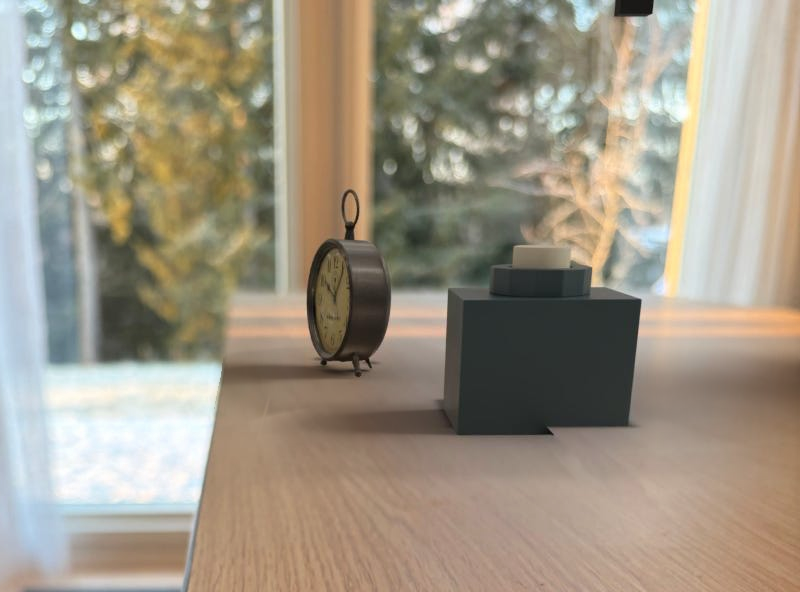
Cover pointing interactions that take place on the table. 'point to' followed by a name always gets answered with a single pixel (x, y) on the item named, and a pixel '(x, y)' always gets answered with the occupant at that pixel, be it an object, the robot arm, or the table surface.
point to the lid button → (541, 256)
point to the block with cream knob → (539, 353)
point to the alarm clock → (348, 297)
